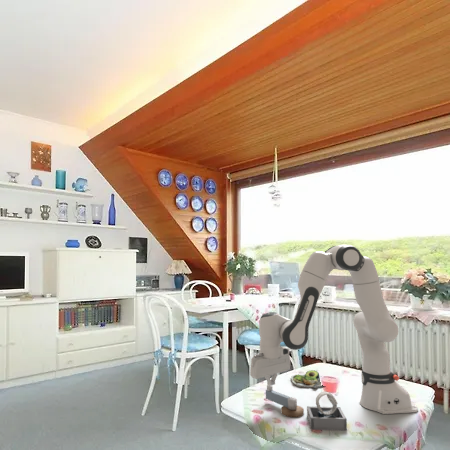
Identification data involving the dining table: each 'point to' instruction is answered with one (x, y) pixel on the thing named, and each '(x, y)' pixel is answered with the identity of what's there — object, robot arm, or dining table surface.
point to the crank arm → (281, 398)
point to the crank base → (292, 412)
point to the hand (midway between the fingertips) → (271, 384)
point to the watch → (328, 413)
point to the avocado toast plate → (307, 379)
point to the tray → (326, 419)
